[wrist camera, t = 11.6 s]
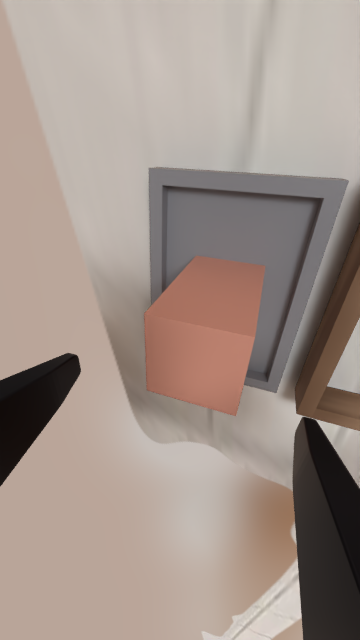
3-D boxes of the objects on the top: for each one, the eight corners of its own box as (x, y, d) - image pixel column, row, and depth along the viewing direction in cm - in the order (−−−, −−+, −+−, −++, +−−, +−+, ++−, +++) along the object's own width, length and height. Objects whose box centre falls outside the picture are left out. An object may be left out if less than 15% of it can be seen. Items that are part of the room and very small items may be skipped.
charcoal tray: (342, 178, 13) (348, 180, 12) (276, 379, 21) (276, 392, 19) (158, 167, 16) (148, 167, 14) (159, 350, 23) (152, 360, 22)
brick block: (265, 265, 16) (255, 337, 10) (251, 325, 18) (235, 415, 12) (196, 255, 17) (144, 313, 11) (191, 313, 19) (146, 390, 13)
